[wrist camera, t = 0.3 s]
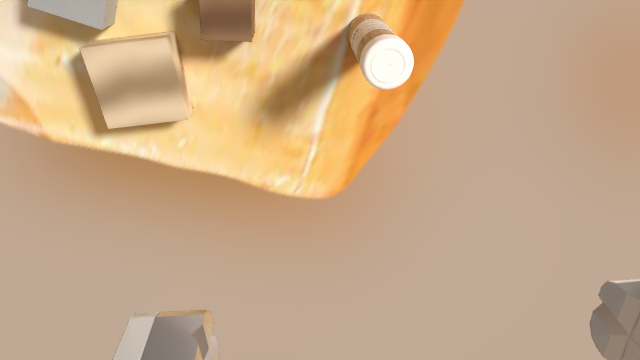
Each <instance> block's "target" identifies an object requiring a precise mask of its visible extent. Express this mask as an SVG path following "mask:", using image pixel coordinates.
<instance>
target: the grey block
mask: <svg viewBox="0 0 640 360" xmlns="http://www.w3.org/2000/svg"><path fill="white" fill-rule="evenodd" d="M117 1H118V0H28V7H31V8H34V9H37V10H41V11H44V12H47V13H50V14H53V15H56V16H59V17H63V18H66V19H69V20H72V21H75V22H78V23H81V24H85V25H88V26H91V27H94V28H97V29H100V30H103V29H105V28H107V27H108V26H110V25H112V24H114V23H115V16H116V8H117Z"/></svg>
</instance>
